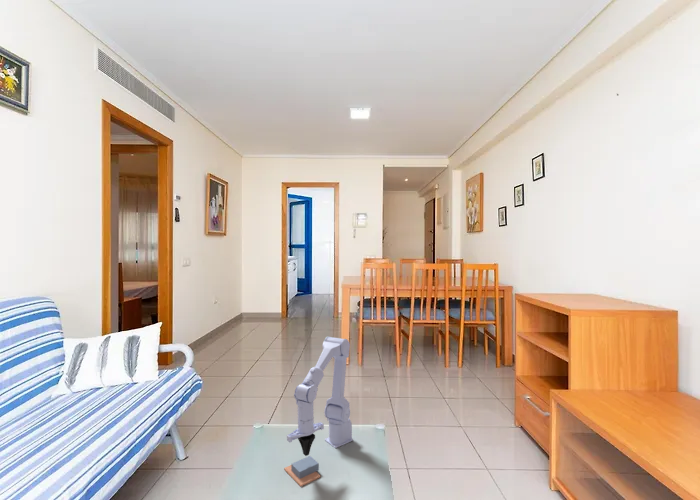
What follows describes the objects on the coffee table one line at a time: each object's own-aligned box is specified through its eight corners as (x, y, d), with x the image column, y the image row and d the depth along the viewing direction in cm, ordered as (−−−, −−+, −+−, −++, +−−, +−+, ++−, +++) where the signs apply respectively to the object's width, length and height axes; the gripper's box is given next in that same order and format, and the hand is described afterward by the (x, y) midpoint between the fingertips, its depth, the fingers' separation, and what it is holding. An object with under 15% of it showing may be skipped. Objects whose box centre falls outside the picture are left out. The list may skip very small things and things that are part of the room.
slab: (310, 455, 136) (291, 463, 131) (318, 463, 131) (299, 472, 127) (310, 462, 136) (291, 470, 131) (318, 470, 132) (299, 479, 127)
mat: (302, 461, 138) (302, 459, 138) (320, 477, 128) (320, 475, 128) (284, 469, 133) (284, 468, 133) (300, 486, 124) (300, 485, 124)
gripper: (316, 407, 139) (316, 442, 139) (282, 419, 130) (283, 456, 130) (326, 414, 133) (327, 450, 134) (292, 427, 124) (292, 465, 125)
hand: (306, 454), depth 132 cm, fingers closed
